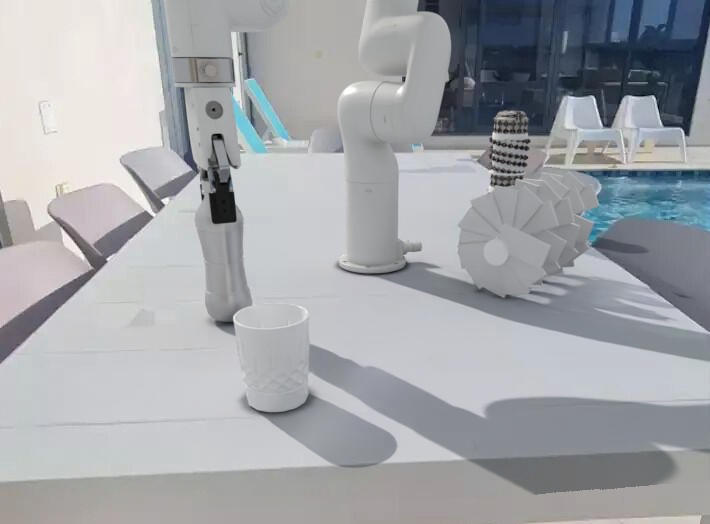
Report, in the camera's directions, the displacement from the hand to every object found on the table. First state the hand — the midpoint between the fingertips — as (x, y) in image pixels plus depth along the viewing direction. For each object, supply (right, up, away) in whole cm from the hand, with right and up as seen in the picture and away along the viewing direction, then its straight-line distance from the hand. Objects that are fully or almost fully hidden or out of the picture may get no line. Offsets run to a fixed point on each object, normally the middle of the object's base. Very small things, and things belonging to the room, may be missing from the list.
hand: (219, 216), depth 87 cm
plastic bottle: (0, -14, +6) cm, 15 cm away
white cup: (+11, -24, -16) cm, 31 cm away
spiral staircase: (+46, -6, +23) cm, 52 cm away
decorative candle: (+50, +13, +65) cm, 83 cm away
